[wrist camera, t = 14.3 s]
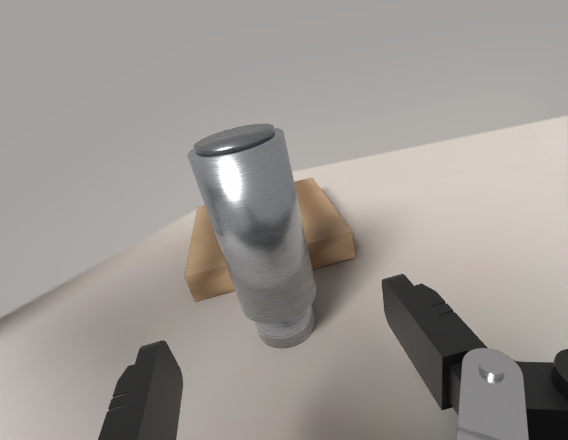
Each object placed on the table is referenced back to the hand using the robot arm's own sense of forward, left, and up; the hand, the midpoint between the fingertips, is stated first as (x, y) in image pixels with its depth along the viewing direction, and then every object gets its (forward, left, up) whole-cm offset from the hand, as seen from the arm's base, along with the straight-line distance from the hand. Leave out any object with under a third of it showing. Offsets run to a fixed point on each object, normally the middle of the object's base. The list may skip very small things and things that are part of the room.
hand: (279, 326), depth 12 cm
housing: (0, +25, -11) cm, 27 cm away
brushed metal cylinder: (0, +11, -11) cm, 15 cm away
